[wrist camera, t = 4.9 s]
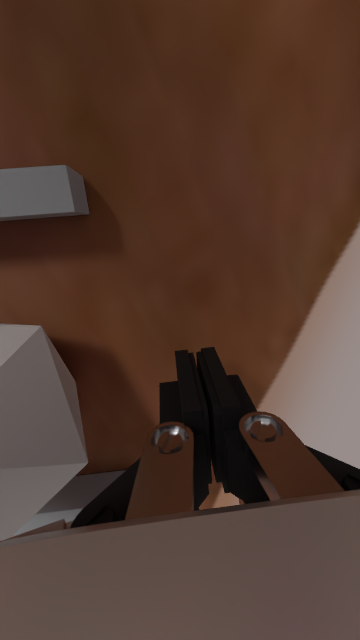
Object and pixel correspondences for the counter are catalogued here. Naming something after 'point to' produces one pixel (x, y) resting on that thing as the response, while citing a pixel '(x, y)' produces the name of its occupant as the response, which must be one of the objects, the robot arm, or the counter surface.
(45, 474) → the die
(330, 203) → the counter surface
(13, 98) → the counter surface
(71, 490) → the track
